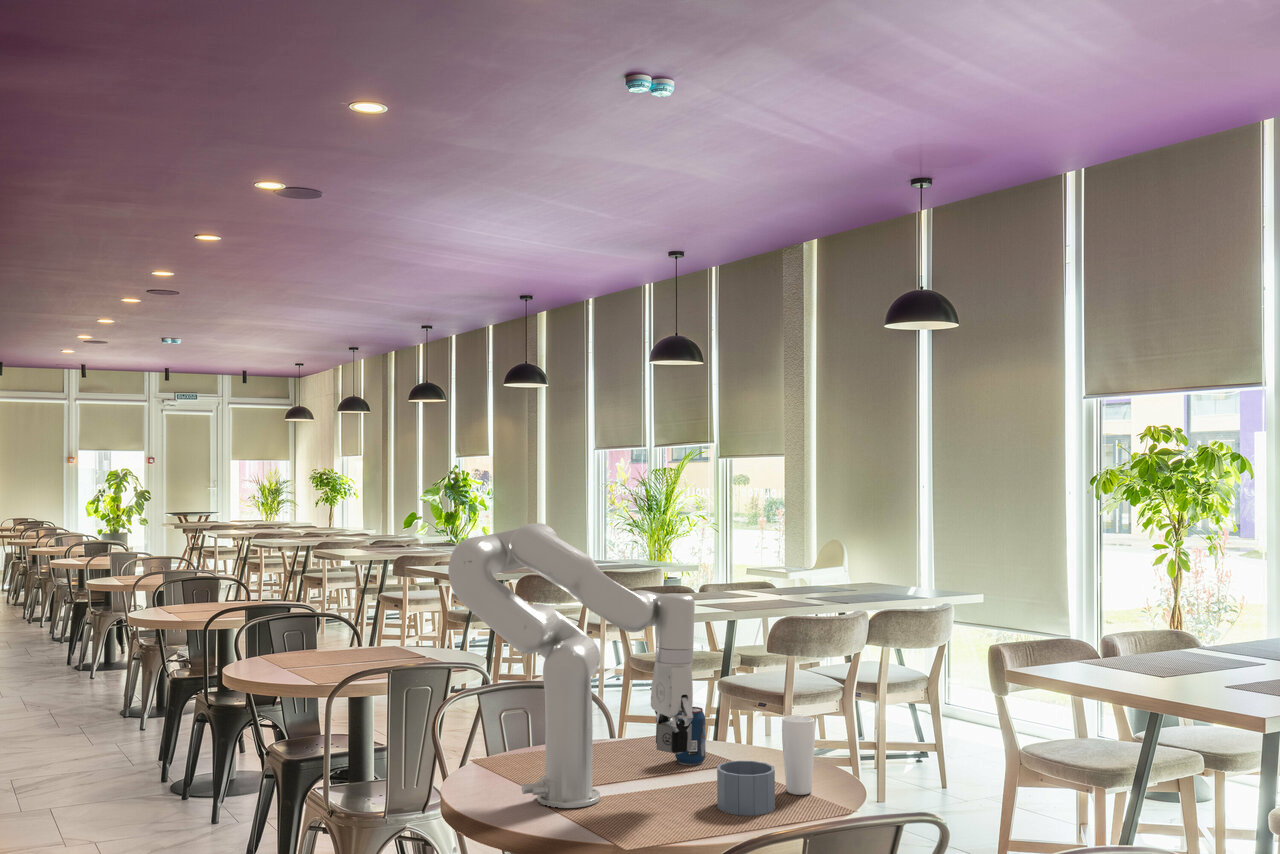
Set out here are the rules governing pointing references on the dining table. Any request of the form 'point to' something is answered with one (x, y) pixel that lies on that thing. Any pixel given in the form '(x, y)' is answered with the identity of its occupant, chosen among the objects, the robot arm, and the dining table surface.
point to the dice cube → (669, 737)
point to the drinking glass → (798, 753)
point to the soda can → (695, 740)
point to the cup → (746, 788)
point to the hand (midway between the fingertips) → (671, 746)
